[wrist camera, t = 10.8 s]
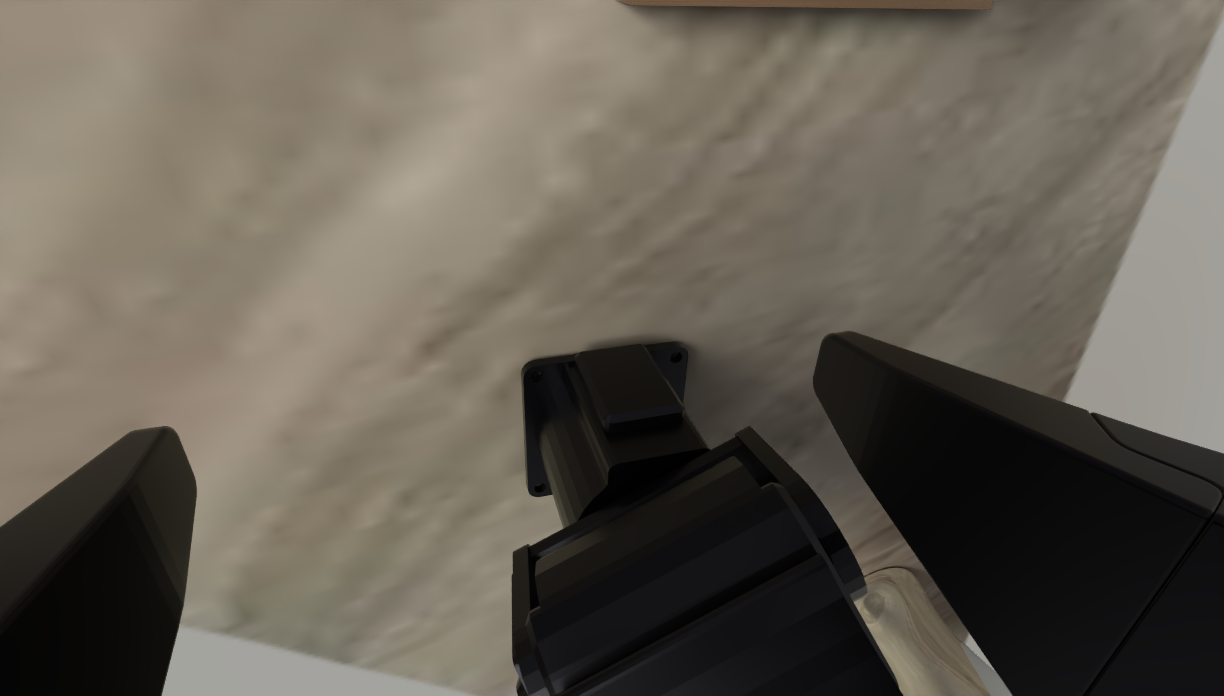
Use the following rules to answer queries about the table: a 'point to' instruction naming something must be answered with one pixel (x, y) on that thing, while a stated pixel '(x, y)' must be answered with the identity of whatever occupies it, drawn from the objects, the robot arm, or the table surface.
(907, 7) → the square wooden board
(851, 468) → the table surface
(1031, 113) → the table surface
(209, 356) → the table surface
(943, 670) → the beer glass
